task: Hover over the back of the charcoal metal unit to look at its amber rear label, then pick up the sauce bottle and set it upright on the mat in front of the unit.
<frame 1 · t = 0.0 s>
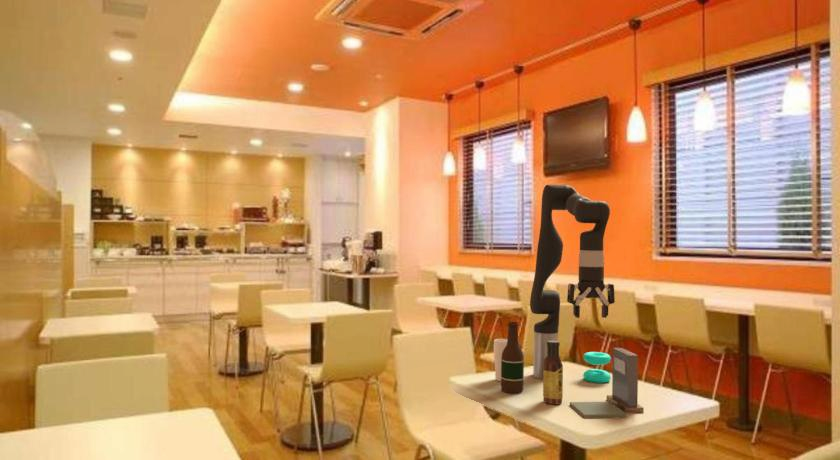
hand: (590, 317, 182), 29 cm above the table, fingers open, 8 cm apart
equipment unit: (624, 405, 189), on the table
donuts: (596, 380, 222), on the table
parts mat: (597, 411, 183), on the table
drinking glass: (502, 380, 220), on the table
beer bottle: (512, 391, 205), on the table
sauce bottle: (552, 402, 192), on the table
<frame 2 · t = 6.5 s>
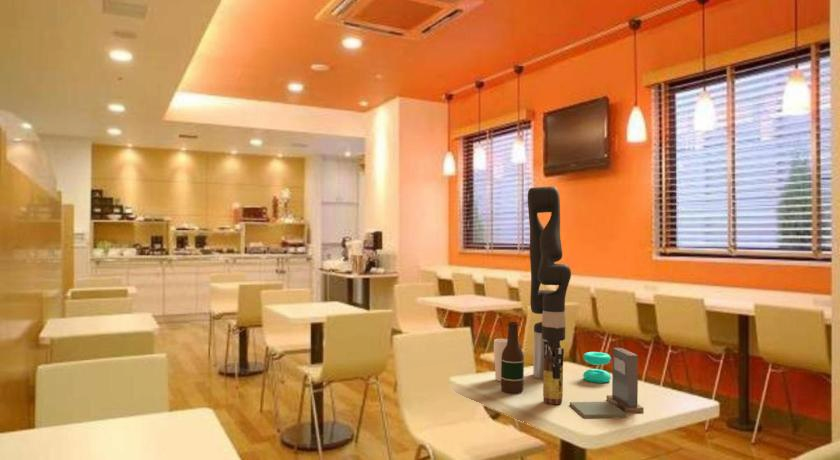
hand: (552, 375, 192), 9 cm above the table, fingers closed on sauce bottle, 6 cm apart
sauce bottle: (552, 402, 192), on the table, touching gripper
everything else where it was.
when the fingers open (11 cm above the table, at t = 14.0 s): sauce bottle drops 1 cm, resting on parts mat.
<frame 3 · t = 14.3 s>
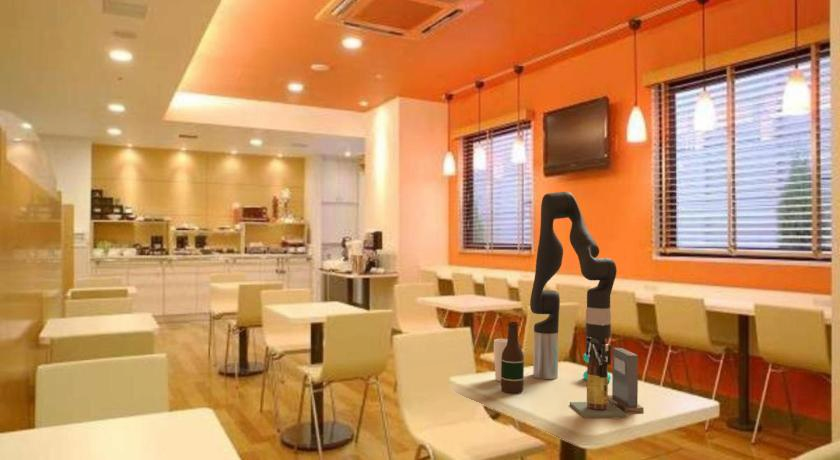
hand: (597, 374, 183), 12 cm above the table, fingers open, 8 cm apart
sauce bottle: (596, 408, 183), point 1 cm above the table, touching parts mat
everything else where it was.
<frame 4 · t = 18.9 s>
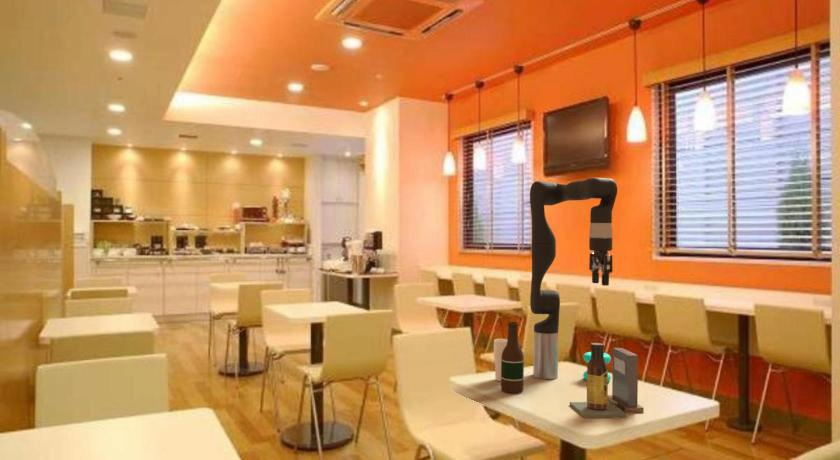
hand: (600, 284, 200), 38 cm above the table, fingers open, 8 cm apart
nothing on the table moved.
at the end: sauce bottle inside the target area on the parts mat (0.1 cm from its centre), point 0.8 cm above the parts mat's base; sauce bottle tilted 0°; the gripper is holding nothing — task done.
